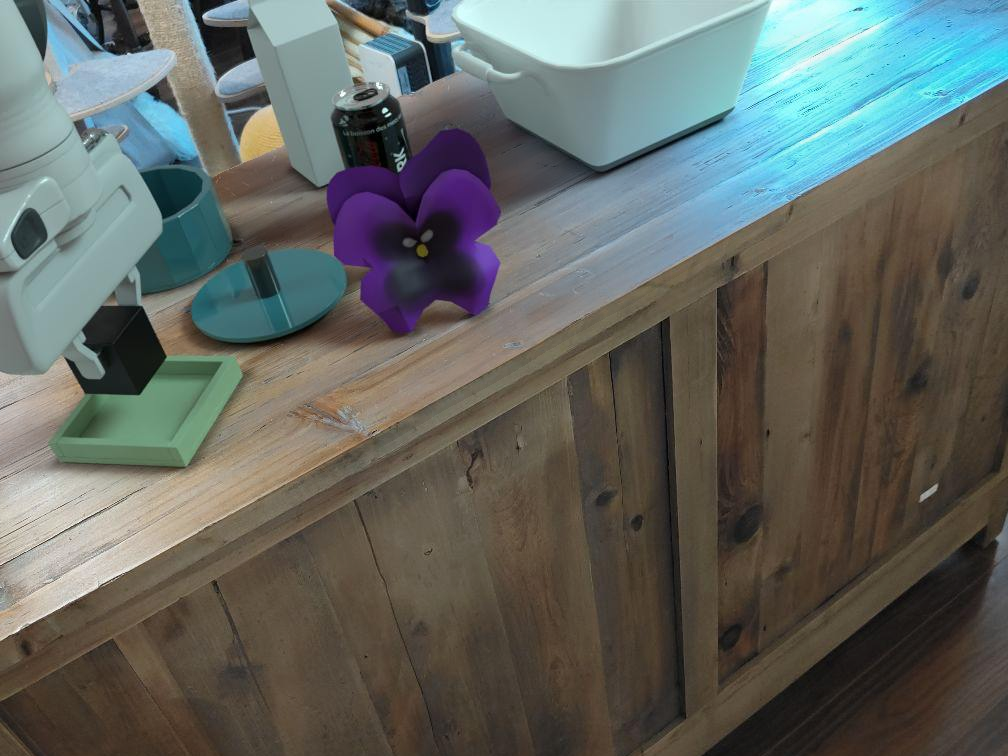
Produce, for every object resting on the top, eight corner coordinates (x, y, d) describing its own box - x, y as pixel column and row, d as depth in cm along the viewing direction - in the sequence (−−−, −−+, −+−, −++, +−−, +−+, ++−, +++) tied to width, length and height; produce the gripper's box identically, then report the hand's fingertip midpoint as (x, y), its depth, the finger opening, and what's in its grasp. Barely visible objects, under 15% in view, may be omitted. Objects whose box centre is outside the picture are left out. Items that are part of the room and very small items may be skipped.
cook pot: (77, 294, 101) (46, 236, 96) (139, 222, 109) (113, 166, 105) (199, 294, 97) (173, 234, 93) (253, 220, 106) (231, 162, 102)
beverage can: (435, 210, 102) (408, 92, 94) (376, 236, 100) (343, 118, 92) (405, 187, 107) (377, 72, 98) (348, 211, 105) (314, 96, 96)
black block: (84, 394, 80) (54, 342, 77) (114, 356, 84) (86, 304, 80) (139, 395, 79) (112, 343, 76) (167, 357, 83) (142, 305, 79)
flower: (361, 335, 98) (361, 348, 85) (312, 175, 93) (305, 164, 80) (505, 296, 99) (526, 303, 86) (464, 137, 94) (481, 120, 82)
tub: (559, 225, 97) (541, 92, 88) (427, 139, 114) (401, 20, 105) (821, 103, 107) (830, -28, 98) (665, 41, 124) (660, -76, 115)
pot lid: (168, 347, 92) (145, 299, 88) (232, 259, 101) (214, 212, 98) (317, 349, 88) (300, 299, 85) (369, 257, 98) (355, 209, 94)
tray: (59, 462, 82) (47, 442, 81) (125, 373, 90) (115, 354, 88) (186, 467, 79) (176, 447, 78) (243, 375, 87) (235, 355, 85)
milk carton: (375, 165, 111) (326, -21, 98) (318, 189, 109) (260, 2, 95) (347, 145, 116) (296, -36, 102) (292, 168, 114) (232, -13, 100)
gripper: (66, 117, 77) (142, 275, 87) (-97, 265, 64) (15, 431, 73) (139, 113, 75) (207, 274, 85) (-12, 264, 62) (90, 434, 72)
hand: (117, 348), depth 79 cm, fingers closed on black block, 5 cm apart
